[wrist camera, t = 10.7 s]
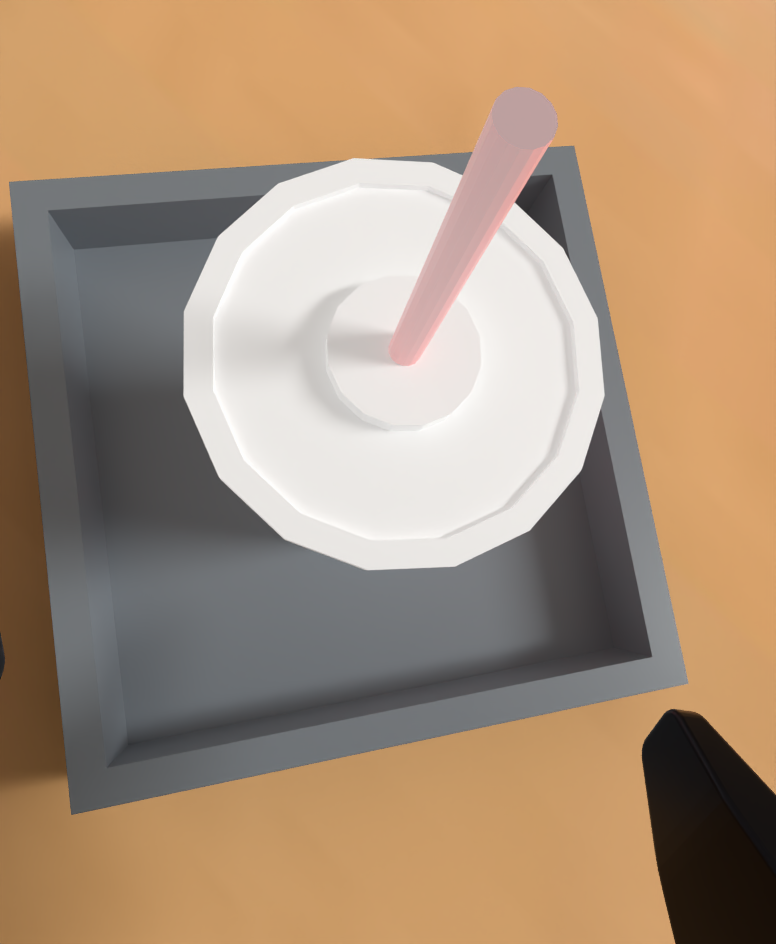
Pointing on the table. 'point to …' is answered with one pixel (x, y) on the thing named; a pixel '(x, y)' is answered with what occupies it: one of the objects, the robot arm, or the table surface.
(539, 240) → the beverage cup
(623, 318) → the table surface
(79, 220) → the tray
